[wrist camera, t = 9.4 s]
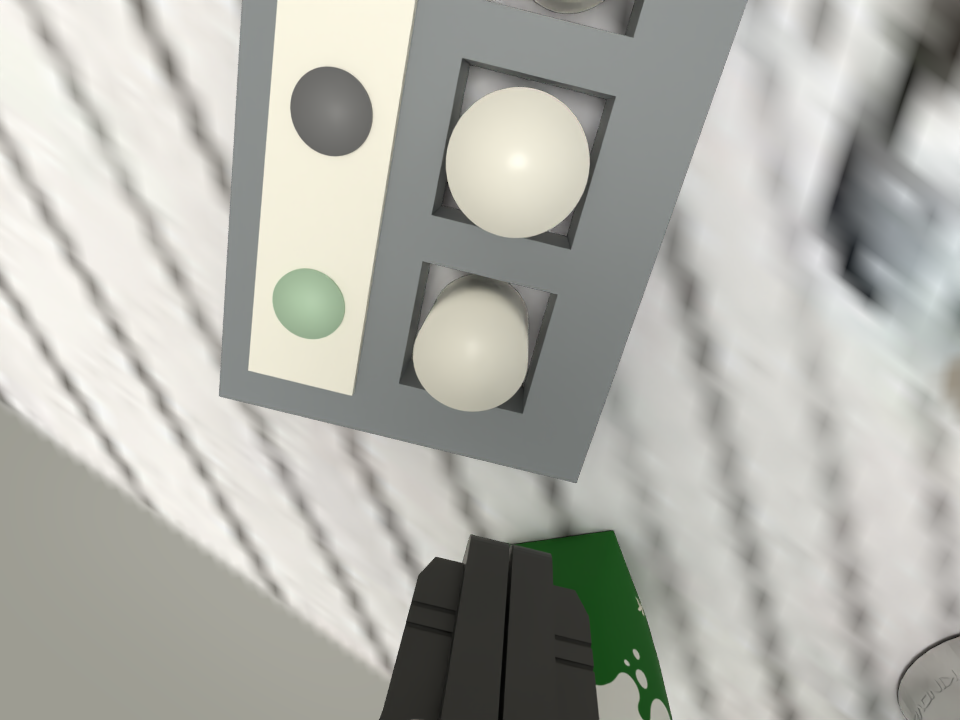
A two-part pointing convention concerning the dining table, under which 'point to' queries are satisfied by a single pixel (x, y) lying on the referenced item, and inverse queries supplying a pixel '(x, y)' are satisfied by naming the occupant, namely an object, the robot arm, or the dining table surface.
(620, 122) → the button board
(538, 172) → the button
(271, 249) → the strip
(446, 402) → the button
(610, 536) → the milk carton
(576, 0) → the button
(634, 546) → the dining table surface
